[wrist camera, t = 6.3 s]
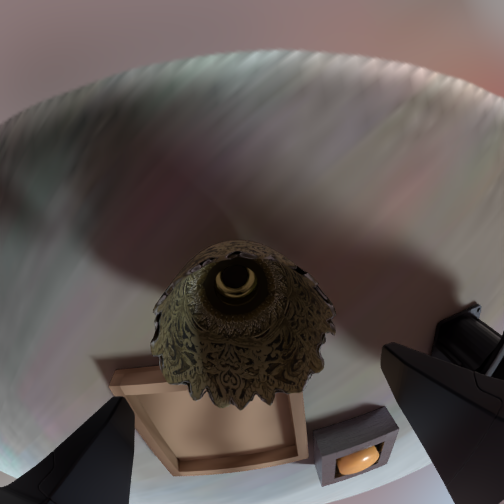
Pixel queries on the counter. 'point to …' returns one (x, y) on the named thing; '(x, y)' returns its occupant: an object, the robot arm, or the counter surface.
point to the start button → (357, 461)
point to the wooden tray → (211, 426)
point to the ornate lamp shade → (241, 326)
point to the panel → (353, 443)
